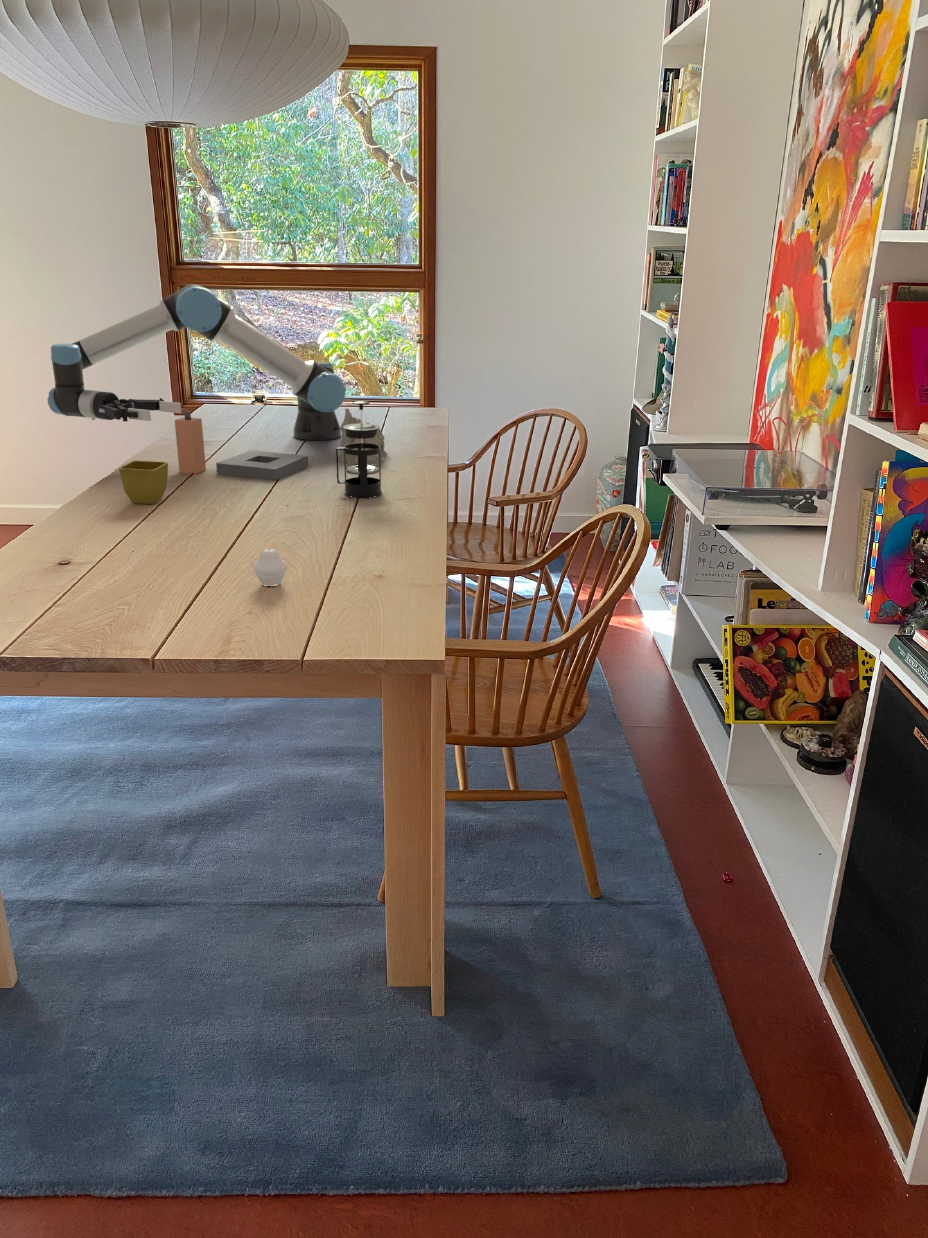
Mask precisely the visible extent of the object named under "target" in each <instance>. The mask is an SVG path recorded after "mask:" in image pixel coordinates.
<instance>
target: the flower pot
mask: <svg viewBox="0 0 928 1238" xmlns="http://www.w3.org/2000/svg"><path fill="white" fill-rule="evenodd" d="M118 471H119V474H120V480H121V483H122V488H123V490H124V493H125V494H126V497H128V498H129V501H131V502H132V503H133V504H142V505H144V504H146V505H154V504H155V503H158V502H159V501H161V500H162V498H163V496H164V494H165V492H166V489H167V486H168V485H167V484H168V474H169V473H168V471H169V462H168V461H156V460H155V461H154V460H153V461H152V460H131V461H129V462H128V463H126V464H124V465H122V466H120V467H119V468H118Z"/></svg>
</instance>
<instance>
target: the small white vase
mask: <svg viewBox="0 0 928 1238" xmlns="http://www.w3.org/2000/svg"><path fill="white" fill-rule="evenodd" d="M252 568H253V571H254V572H255V576H256V578H257V579H258V580H259V582H260V584H261V585H262V584H265V585H274V584H279V583H281V584H282V581H283V580H284V577H285V575H286V572H287V569H288V564H287V562H286V561H285V560H284V559H283V558H282V557H281V556H280V552H279V551H278V550H276V549H275V548H274V549H273V548H268V549H267V548H266V549H263V550H261V551H260V553H259V557H257V560H256V561H255V562H254V563H253V567H252Z"/></svg>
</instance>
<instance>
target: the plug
mask: <svg viewBox="0 0 928 1238" xmlns="http://www.w3.org/2000/svg"><path fill="white" fill-rule="evenodd" d="M183 413H184V417H182V418H181V417H180V418H177V419H174V428H175V439H176V451H177V461H178V471H179V473H182V474H183V473H184V474H192V473H194V474H193V475H195V474H199V473H201V472H204V471H207V468H206V456H205V445H204V444H205V443H204V434H203V433H204V432H203V421H202V420H203V419H202V418H199V417H198V418H197V417H192V416H191V415H192V414H191V413H192V412H191V411H188V410H186V411H184V412H183Z"/></svg>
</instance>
